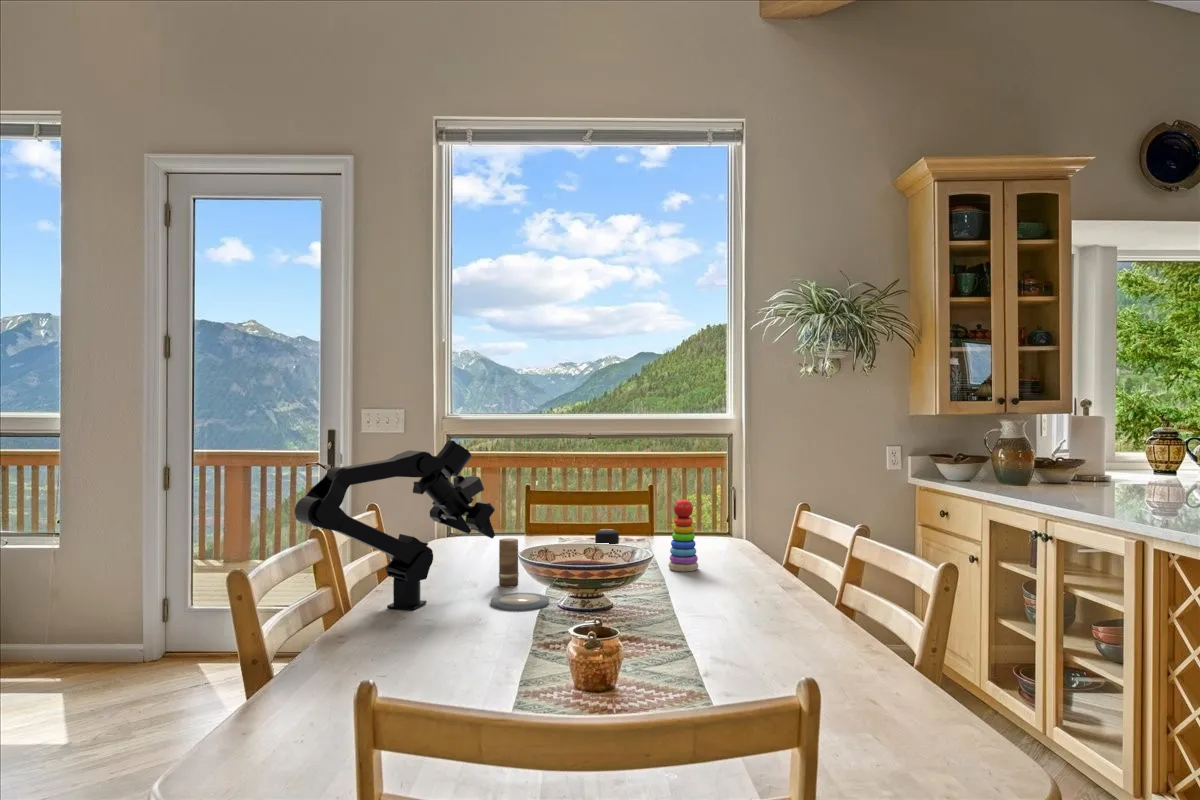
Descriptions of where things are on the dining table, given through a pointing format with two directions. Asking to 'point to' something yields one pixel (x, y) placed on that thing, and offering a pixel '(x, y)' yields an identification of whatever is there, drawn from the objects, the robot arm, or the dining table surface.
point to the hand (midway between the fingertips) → (481, 534)
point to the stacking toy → (683, 539)
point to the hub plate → (519, 601)
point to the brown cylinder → (508, 562)
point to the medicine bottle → (607, 536)
